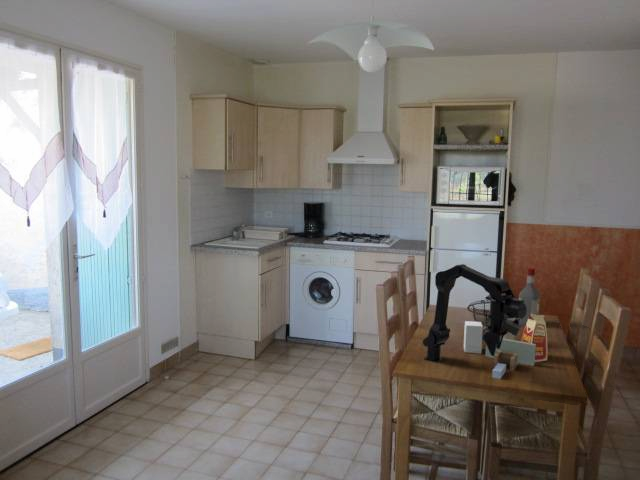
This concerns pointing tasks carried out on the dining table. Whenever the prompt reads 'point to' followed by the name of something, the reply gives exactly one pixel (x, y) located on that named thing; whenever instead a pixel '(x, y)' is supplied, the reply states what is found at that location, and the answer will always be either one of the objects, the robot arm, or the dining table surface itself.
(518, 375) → the dining table surface
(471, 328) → the supplement box
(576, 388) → the dining table surface
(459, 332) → the dining table surface
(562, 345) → the dining table surface
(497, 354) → the brown u-shaped bracket
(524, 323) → the liquor
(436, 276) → the robot arm
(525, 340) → the milk carton
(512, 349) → the backstop board
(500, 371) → the blue-gray block
